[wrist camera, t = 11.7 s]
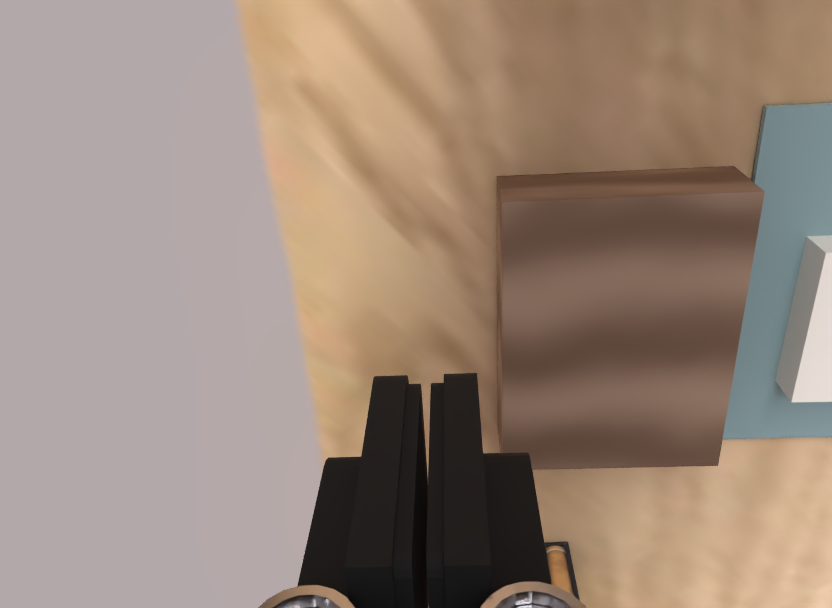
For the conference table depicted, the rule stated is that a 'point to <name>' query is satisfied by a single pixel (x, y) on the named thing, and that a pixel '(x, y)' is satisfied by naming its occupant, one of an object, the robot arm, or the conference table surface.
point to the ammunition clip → (561, 567)
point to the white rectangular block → (809, 328)
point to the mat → (781, 269)
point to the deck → (621, 313)
